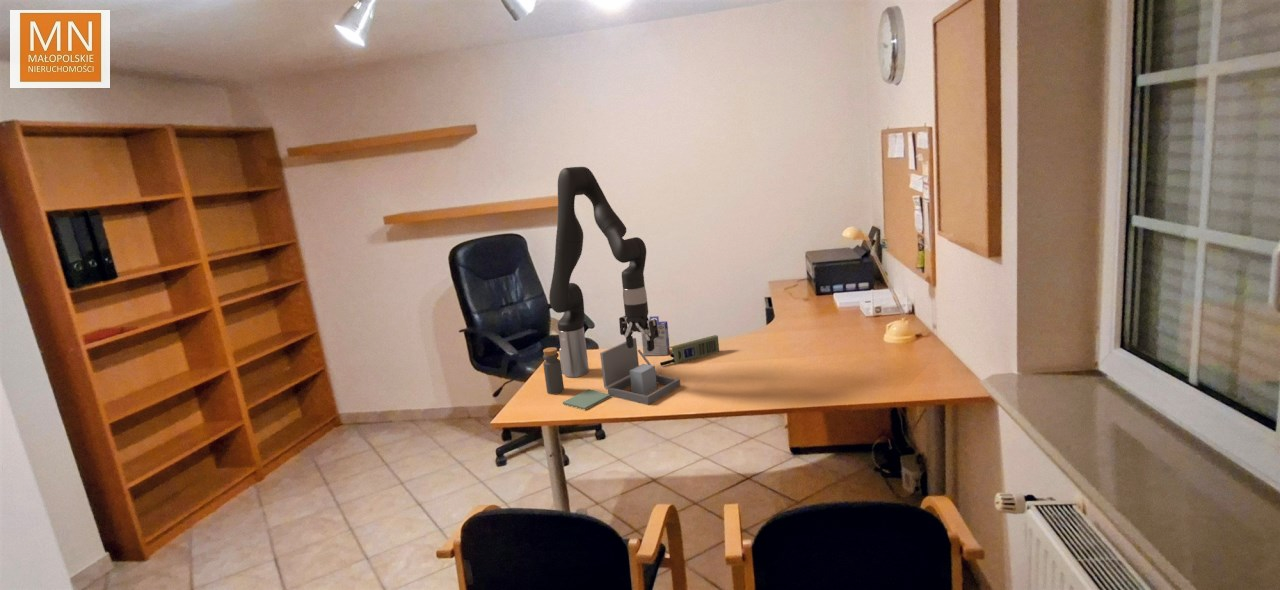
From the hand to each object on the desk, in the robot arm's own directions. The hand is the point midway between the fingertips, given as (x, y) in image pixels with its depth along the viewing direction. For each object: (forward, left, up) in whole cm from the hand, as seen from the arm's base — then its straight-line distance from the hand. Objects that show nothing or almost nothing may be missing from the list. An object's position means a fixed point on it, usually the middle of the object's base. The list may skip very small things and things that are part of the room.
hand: (640, 349), depth 205 cm
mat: (-12, -15, -15) cm, 24 cm away
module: (0, 0, -15) cm, 15 cm away
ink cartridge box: (-20, +32, -15) cm, 41 cm away
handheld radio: (-5, +32, -15) cm, 36 cm away
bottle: (-28, -14, -15) cm, 35 cm away
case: (0, 0, -15) cm, 15 cm away
